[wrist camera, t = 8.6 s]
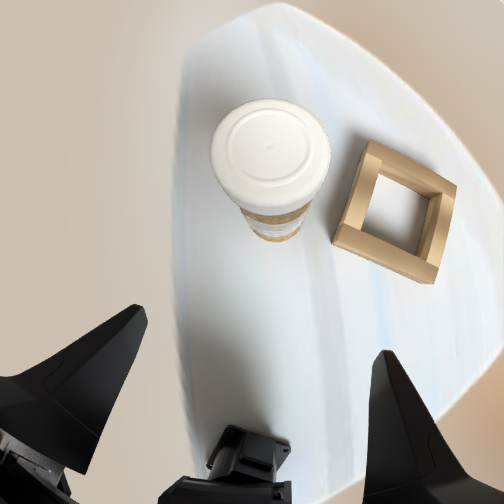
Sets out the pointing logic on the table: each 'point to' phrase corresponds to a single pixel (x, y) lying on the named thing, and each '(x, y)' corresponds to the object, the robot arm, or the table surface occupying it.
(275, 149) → the sprinkles bottle
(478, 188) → the table surface
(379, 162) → the block
